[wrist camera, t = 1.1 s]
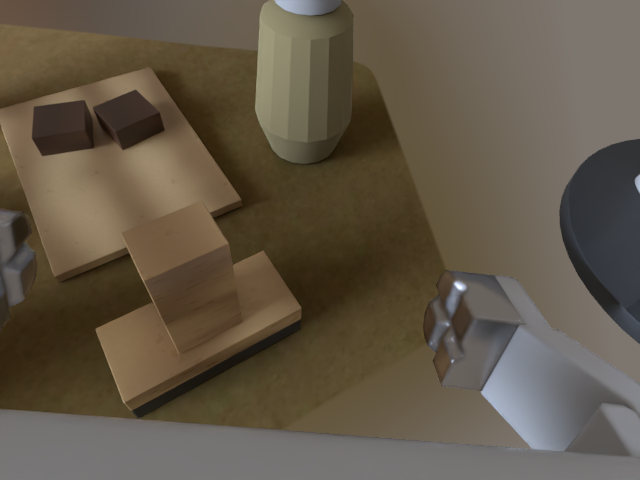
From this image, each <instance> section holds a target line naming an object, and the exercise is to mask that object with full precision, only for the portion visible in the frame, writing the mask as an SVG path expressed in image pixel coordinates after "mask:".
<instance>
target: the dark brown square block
mask: <svg viewBox="0 0 640 480" xmlns="http://www.w3.org/2000/svg"><path fill="white" fill-rule="evenodd" d="M93 110H94V112H95V114H96V117H97V119H98V122H99V124H100V126H101V127H102V128H103V129H104V130H105V131H106V133H107V134H108V135H109V136H110V137H111V138H112V139H113V140H114V141H115V142H116V143H117V144H118V145H119V147H120V148H121V149H122V150H124V149H127V148H129V147H131V146H133V145H135V144H137V143H139V142H141V141H144V140H146V139H148V138H150V137H152V136H154V135H156V134H158V133H160V132H163V131H164V130H165V129H164V126H163V122H162V118H161V115H160V112H159V111H158V110H157V109H156V108H155V107H154V106H153V105H152V104H151V103H150V102H149V101H147V100H146V99H145V98H144V97H143V96H142V95H141V94H140V93H139V92H138V91H137V90H133V91H131V92H128V93H126V94H123V95H121V96H118V97H116V98H114V99H111V100H109V101H106V102H104V103H102V104H99V105H97V106H94V107H93Z"/></svg>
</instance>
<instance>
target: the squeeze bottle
mask: <svg viewBox="0 0 640 480" xmlns="http://www.w3.org/2000/svg"><path fill="white" fill-rule="evenodd" d="M258 47H259V48H258V65H257V85H256V104H255V111H256V114H257V117H258V120H259V123H260V125H261V127H262V129H263V131H264V133H265V135H266V137H267V139H268V141H269V143H270V145H271V147H272V150H273V151H274V152H275V153H276V154H277V155H278V156H279V157H280V158H283V159H285V160H287V161H289V162H292V163H300V164H309V163H315V162H319V161H321V160H323V159H325V158H327V157H329V155H330V154H331V153H332V152H333V150H334V149H335V147H336V146H337V144H338V142H339V140H340V139H341V137H342V135H343V133H344V132H345V130H346V128H347V126H348V125H349V123H350V121H351V113H352V75H353V13H352V12H351V10H350V8H349V7H348V5H347V4H346V3H345V2H344V1H342V0H269V1H267V2H266V3H265V4H264V5H263V7H262V10H261V13H260V27H259V46H258Z"/></svg>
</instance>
